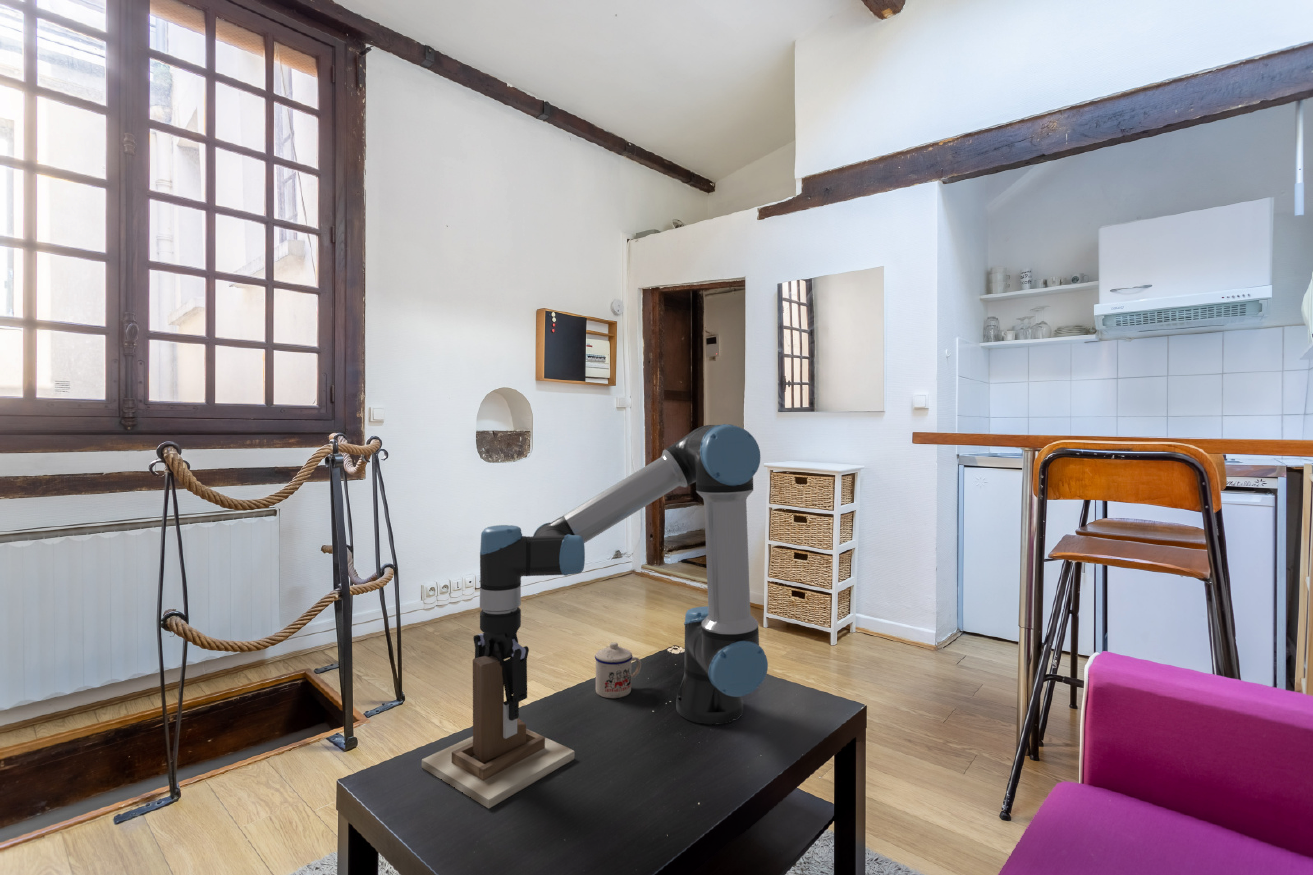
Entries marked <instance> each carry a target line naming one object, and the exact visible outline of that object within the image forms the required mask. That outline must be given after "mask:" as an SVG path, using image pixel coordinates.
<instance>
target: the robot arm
mask: <svg viewBox="0 0 1313 875" xmlns="http://www.w3.org/2000/svg"><path fill="white" fill-rule="evenodd" d="M760 450H761V449H760V446H759V444H758V442H757V440H756V439H755V437H754V436H753V435H752V434H751V433H750V432H749V431H748V430H746V429H744V428H743V427H740V426H737V425H734V424H726V423H723V424H707V425H706V424H705V425H703V426H700V427H698V428H695V429H694V430H692V431H691V432H689V433H688V434H686V435H685V436H683V437H682V438H681V439H679V440H678V441H676V442H674V443H673V444H672V445H670V446H668V447H667V448H665V449H663V450H662V454H661V456H660V457H658V458H657V459H655V460H653V461H652V462H650V463H649V464H647V465H646V466H644V467H642V468H641V469H639V470H637V471H636V472H633V473H632V474H630V475H628V476H626V477H625V478H624V479H621V480H620V481H619V482H617V483H615V484H614V485H612V486H610V487H609V488H607V489H605V490H603V491H602V492H600V493H598V494H597V495H595V496H593V497H592V498H590V499H588V500H586V501H585V502H583V503H581V504H580V505H578V506H577V507H575V508H573V509H571V510H570V511H568V512H566V513H564V514H563V515H562V516H560V517H558V518H557V519H556V518H555V520H553V521H551V522H546V523H543V524H541V525H540V526H538V527H537V528H536V530H535V532H534V533H533V536H526V535H523V533H522V529H521V527H519V526H517V525H514V524H513V525H508V524H499V525H491V526H487V527H485V528H484V529H483V530H482V532H481V533H480V548H479V551H480V552H479V571H480V572H479V584H480V586H479V608H480V609H481V611H480V612H479V630H480V632H482V633H478V634H475V635H473V636H472V637H473V638H472V639H473V643H474V658H479V657H483V656H487V657H489V656H494V657H496V658H497V659H498V661H499V662H500V666H502V676H503V682H504V696H505V699H506V700H504V702H503V738H505V739H506V738H508V737H510V736H513V735H515V734H517V718H519V717H520V712H519V710H520V706H519V704H520V702H522V701H525V700H527V699H528V656H529V651H530V650H529V649H530V648H529V647H528V645H525V646H522V645H521V644H519V639H518V635H517V634H518V630H519V629H520V628H521V624H522V610H521V608H520V606H521V604H522V602H521V600H522V599H521V598H522V597H521V596H522V594H521V593H522V590H521V588H522V577H539V576H541V577H542V576H543V577H545V576H547V577H548V576H569V575H577V574H578V575H579V574H581V573H582V572H584V569H585V560H586V559H585V558H586V555H585V554H586V552H585V551H586V550H585V543H587V542H589V541H591V540H593V539H594V538H595V537H597V536H599V535H600V534H602V533H604V532H605V531H607V530H608V529H611V528H612V527H614V526H615V525H617V524H619V523H621V522H622V521H623V520H625V519H627V518H629V517H630V516H632V515H634V514H635V513H637V512H638V511H640V510H642V509H643V508H645V507H647V506H649V505H650V504H651V503H654V502H655V501H657V500H659V499H660V498H661V497H663V496H665V495H667V494H669V493H670V492H671V491H673V490H675V489H677V488H678V487H682V488H687V487H689V486H690V485H692V484H694V483H695V489H696V490H695V492H696V493H697V494H698V495H699V496H700V497H701V498H702V499H703V505H704V525H705V526H704V530H705V532H704V533H705V556H706V558H705V559H706V561H705V562H706V583H707V584H706V585H707V588H706V589H707V606H697V607H696V606H695V607H692V608H689V609H688V610H686V613H685V614H684V616H685V617H684V623H683V625H684V670H683V671H684V674H683V677H682V680H681V684H680V686H679V690H678V692H677V696H676V699H675V700H676V701H675V702H676V703H675V704H676V705H675V706H676V707H675V708H676V711H677V713H678V715H679V716H681V717H682V718H684V719H685V720H688V721H690V722H693V723H697V724H701V723H704V724H703V725H712V724H715V725H717V724H716V723H725V724H727V723H726V722H729V721H732V720H733V719H737V718H738V717H739V716H740V715H741V714H742V712H743V713H744V701H743V700H744V699H743V697H744V696H747V695H750V694H752V693H753V692H755V691H756V690H757V689H758V688H759V687H760V685H762V684H763V682H764V681H765V679H766V677H767V674H768V669H769V668H768V667H769V662H768V657H767V655H766V653H765V651H764V649H763V648H762V646H760V636H759V635H760V632H759V621H758V620H757V619H756V618H755V617H754V616H752V615H751V598H750V597H751V594H750V570H749V569H750V567H749V566H750V565H749V564H750V563H749V543H748V542H749V540H748V536H749V535H748V513H747V512H748V511H747V499H748V497H749V496H750V495H751V494H752V493H753V492H754V476H755V474H756V473H757V472H758V470H759V467H760V465H761V451H760ZM742 715H743V714H742ZM742 715H741V716H742ZM738 719H739V718H738ZM738 719H737V720H738ZM732 722H733V721H732ZM729 723H730V722H729Z"/></svg>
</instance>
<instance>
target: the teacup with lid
mask: <svg viewBox="0 0 1313 875" xmlns="http://www.w3.org/2000/svg"><path fill="white" fill-rule="evenodd" d="M594 658H595V659H594V660H595V692H596V694H597V695H598V696H600V697H603V698H607V699H618V698H619V699H620V698H623V697H626V696H628V695H629V694H630V693H631V691H632V679H633V678H636V677H637V676H638V675H639V674H640V671H641V668H642V661H641V659H640V658H639V657H637V656H633V654H632V651H630V650H629V649H627V648H624V647H621V646H619V644H618V642H614V641H613V642H610V643H609V646H606V647H605V648H602V649H598V650H597V651H596V653H595V655H594ZM634 661H636V663H637V664H636V668H635V670H634V671H633V672H632V662H634Z"/></svg>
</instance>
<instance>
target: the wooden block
mask: <svg viewBox="0 0 1313 875" xmlns="http://www.w3.org/2000/svg"><path fill="white" fill-rule="evenodd" d="M504 699H505V688H504V682H503V676H502V666H500V662H499V661H498V659H497V658H496V657H494V656H489V657H487V656H483V657H479V658H475V657H474V658H473V659H472V736H473V753H474V754H475V755H476V756H477V757H478V759H479V760H480V761H481V762H485V761H488V760H490V759H493V758H496V757H499V756H502V755H504V754H506V753H508V752H510V751H512V750H514V749H516V748H518V747H520V746H522V745H524V744H525V743H526V729H527V725H526V723H525V722H524V721H523V720H521V719H520V718H519V717H518V718H517V734H515V735H513V736H510V737H508V738H506V739H505V738H503V702H505V700H504Z"/></svg>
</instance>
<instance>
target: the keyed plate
mask: <svg viewBox="0 0 1313 875" xmlns="http://www.w3.org/2000/svg"><path fill="white" fill-rule="evenodd" d="M575 754H576V752H575V750H573V749H572V748H569V747H568V746H565V745H564V744H563V745H562V744H560V743H558V742H557V741H554V740H551V739H550V738H547V737H545V736H543V735H541V734H538V733H537V732H535V731H532V730H530V729H528V728H526V743H525V744H524V745H522V746H520V747H518V748H516V749H514V750H512V751H510V752H508V753H506V754H504V755H502V756H499V757H496V758H493V759H490V760H488V761H485V762H481V761H480V760H479V759H478V757H477V756H476V755H475V754H474V753H473V735H472V736H470V737H468V738H466V739H464V740H461V741H458V742H457V743H455V744H452V745H450V746H447V747H446V748H443V749H441V750H439V751H437V752H434V753H433V754H431V755H429V756H426V757H424V758H422V759H421V768H422V769H423V770H425V771H427V772H428V773H430V774H432V775H433V776H435V777H437V778H438V779H440V780H441V779H442V780H441V781H442V782H445V783H446V784H448V785H449V784H450V786H451V787H453V788H454V787H455V788H454V789H456V790H457V791H459V792H460V793H462V792H463V794H464V795H466V796H467V797H469V798H470V797H471V798H470V799H472V800H474V801H476V802H477V803H479V804H480V805H482V806H483V807H486V808H487V809H488V810H489V809H491V808H493V807H494V806H496V805H497V804H499V803H501V802H503V801H505V800H506V799H507V798H509V797H511V796H513V795H515V794H516V793H518V792H520V791H522V790H523V789H525V788H527V787H529V786H530V785H532V784H534V783H536V782H537V781H538V780H541V779H542V778H544V777H546V776H548V775H549V774H550V773H552V772H554V771H556V770H558V769H559V768H561V767H563V766H564V765H566V764H568V763H570V762H572V761H573V760H575Z"/></svg>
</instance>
